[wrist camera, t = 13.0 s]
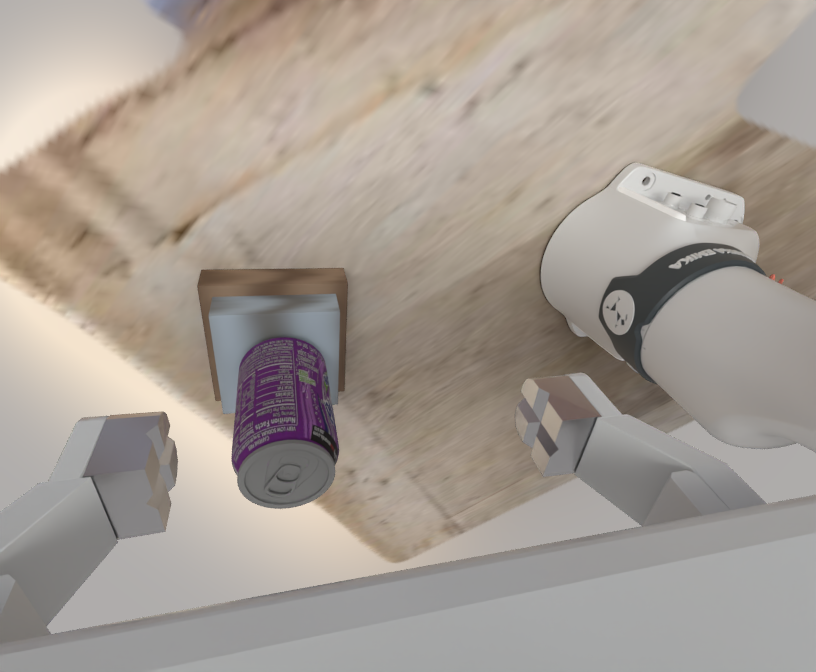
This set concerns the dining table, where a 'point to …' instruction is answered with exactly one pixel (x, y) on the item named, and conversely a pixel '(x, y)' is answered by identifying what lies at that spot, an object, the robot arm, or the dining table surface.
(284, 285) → the stepped plinth
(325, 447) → the beverage can
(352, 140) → the dining table surface
